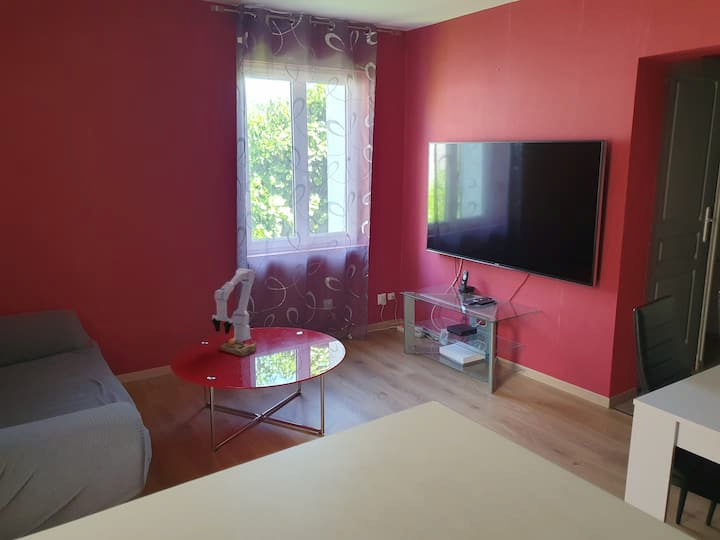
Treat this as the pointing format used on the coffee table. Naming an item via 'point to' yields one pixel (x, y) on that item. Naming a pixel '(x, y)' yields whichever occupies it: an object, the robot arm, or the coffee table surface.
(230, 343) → the ball
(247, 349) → the board
